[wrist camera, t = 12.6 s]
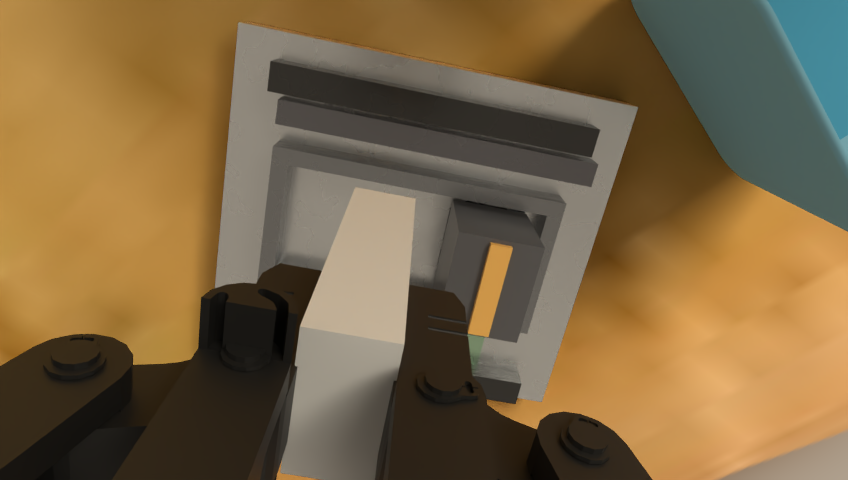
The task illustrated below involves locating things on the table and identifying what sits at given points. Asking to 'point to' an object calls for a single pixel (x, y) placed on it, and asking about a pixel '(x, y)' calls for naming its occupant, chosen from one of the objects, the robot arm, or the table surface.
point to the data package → (766, 89)
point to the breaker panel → (415, 170)
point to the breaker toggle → (490, 267)
